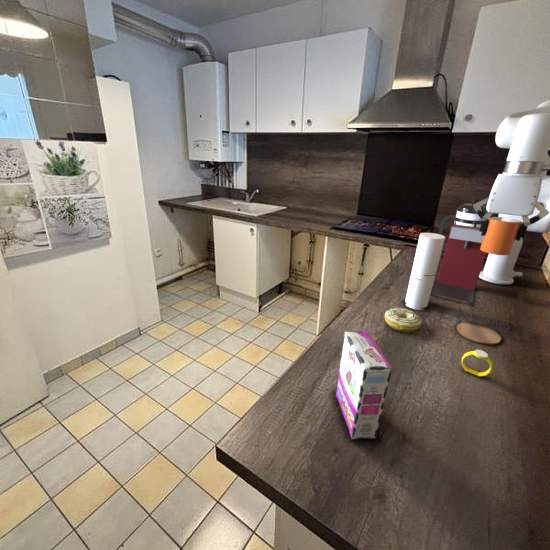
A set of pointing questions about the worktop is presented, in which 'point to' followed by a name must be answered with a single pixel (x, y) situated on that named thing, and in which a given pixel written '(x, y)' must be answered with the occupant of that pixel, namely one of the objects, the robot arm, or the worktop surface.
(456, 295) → the coffee maker
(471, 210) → the coffee press
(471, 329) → the coaster
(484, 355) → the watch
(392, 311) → the decorated donut
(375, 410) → the candy bar box
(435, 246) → the cylindrical container
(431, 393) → the worktop surface
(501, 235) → the cup
